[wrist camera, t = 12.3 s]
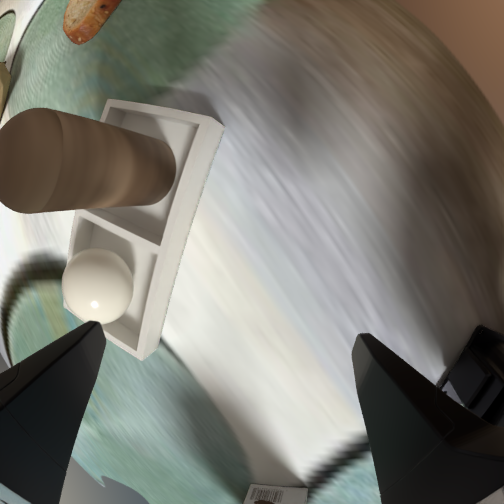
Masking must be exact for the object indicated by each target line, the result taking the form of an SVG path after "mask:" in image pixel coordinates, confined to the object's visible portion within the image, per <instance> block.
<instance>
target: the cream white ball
mask: <svg viewBox="0 0 504 504" xmlns="http://www.w3.org/2000/svg"><path fill="white" fill-rule="evenodd" d="M133 291H134V283H133V277H132V274H131V271H130V269H129V267H128V265H127V264H126V262H125V261H124V260H123V259H122V258H121V257H120V256H119V255H118V254H116V253H115V252H113V251H111V250H108V249H105V248H98V247H95V248H88V249H85V250H83V251H81V252H79V253H77V254H76V255H75V256H74V257H73V258H72V259H71V260H70V261H69V263H68V264H67V266H66V268H65V270H64V273H63V277H62V293H63V297H64V300H65V302H66V304H67V306H68V307H69V309H70V310H71V311H72V312H73V314H74V315H76V316H77V317H78V318H80V319H81V320H83V321H85V322H87V321H89V320H93V321H98V322H100V323H101V324H107V323H110V322H113V321H115V320H116V319H118V318H119V317H121V316H122V315H123V314H124V313H125V311H126V310H127V309H128V307H129V305H130V303H131V300H132V297H133Z"/></svg>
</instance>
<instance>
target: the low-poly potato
mask: <svg viewBox="0 0 504 504" xmlns="http://www.w3.org/2000/svg"><path fill="white" fill-rule="evenodd" d="M5 64H6V61H5V62H0V120H1V116H2V112H3V108H4V105H5V101H6V97H7V93H8V88H9V84H10V80H11V75H10V74H9V72H8V70H7V68H6V66H5Z"/></svg>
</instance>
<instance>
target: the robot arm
mask: <svg viewBox="0 0 504 504" xmlns="http://www.w3.org/2000/svg"><path fill="white" fill-rule="evenodd" d="M481 330H482V332H481V333H480V331H481ZM479 333H480V334H479ZM105 346H106V337H105V334H104V331H103V328H102V325H101V323H100V322H98V321H93V320H89V321H87V322H86V323H84V324H82V325H81V326H79V327H77V328H76V329H74V330H72V331H70V332H69V333H67V334H65V335H64V336H62V337H60V338H59V339H57V340H55V341H54V342H52V343H50V344H49V345H47V346H45V347H44V348H42V349H40V350H39V351H37V352H35V353H34V354H32V355H31V356H29V357H27V358H26V359H24V360H22V361H21V362H19V363H17V364H16V365H14V366H13V367H11V368H9V369H8V370H6V371H4V372H2V373H1V374H0V504H59V501H60V497H61V492H62V488H63V484H64V480H65V476H66V471H67V468H68V464H69V460H70V457H71V454H72V450H73V447H74V443H75V440H76V437H77V434H78V430H79V427H80V424H81V421H82V418H83V415H84V412H85V409H86V407H87V404H88V401H89V398H90V395H91V393H92V390H93V387H94V385H95V382H96V379H97V375H98V372H99V368H100V364H101V361H102V357H103V353H104V350H105ZM352 362H353V368H354V375H355V382H356V389H357V394H358V399H359V403H360V406H361V410H362V414H363V418H364V422H365V426H366V431H367V435H368V439H369V443H370V448H371V452H372V457H373V461H374V466H375V471H376V476H377V481H378V486H379V491H380V494H381V495H380V497H381V502H382V504H504V335H503V334H501V333H499V332H497V331H494V330H492V329H490V328H488V327H486V326H484V325H479V326H478V327H477V328H476V329H475V331H474V333H473V335H472V337H471V339H470V341H469V342H468V344H467V346H466V348H465V349H464V351H463V353H462V354H461V356H460V358H459V359H458V361H457V363H456V364H455V366H454V367H453V369H452V371H451V372H450V374H449V375H448V377H447V378H446V380H445V381H444V383H443V384H442V385H441V387H440V388H438V387H436V386H435V385H434V384H433V383H432V382H430V381H429V380H428V379H427V378H425V377H424V376H423V375H422V374H420V373H419V372H418V371H417V370H415V369H414V368H413V367H412V366H410V365H409V364H408V363H407V362H405V361H404V360H403V359H402V358H400V357H399V356H398V355H397V354H395V353H394V352H393V351H392V350H390V349H389V348H388V347H386V346H385V345H384V344H383V343H381V342H380V341H379V340H378V339H376V338H375V337H374V336H373V335H371V334H370V333H360V334H358V335H357V337H356V341H355V344H354V347H353V350H352ZM444 391H445V392H444ZM459 403H460V404H463V406H464V407H463V406H462V405H460V404H459Z"/></svg>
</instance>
